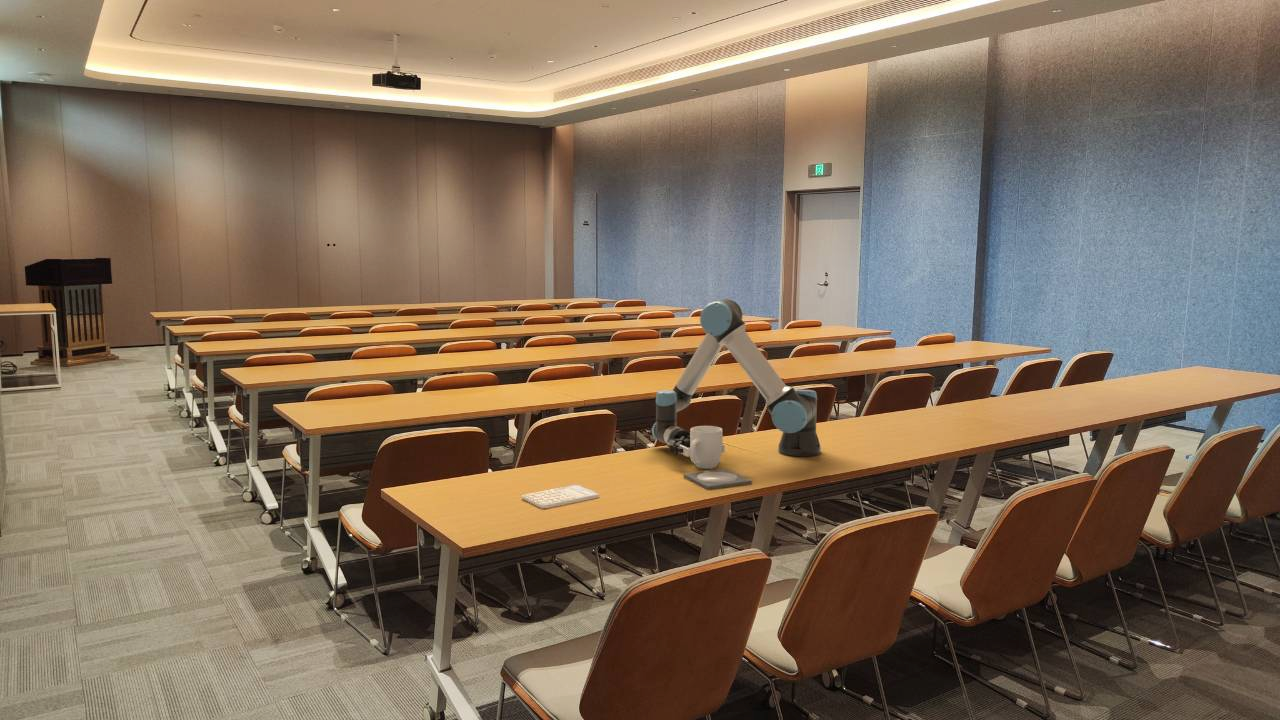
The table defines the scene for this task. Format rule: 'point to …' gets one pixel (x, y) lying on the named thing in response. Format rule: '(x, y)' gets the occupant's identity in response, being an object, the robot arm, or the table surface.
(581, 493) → the calculator
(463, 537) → the table surface
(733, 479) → the kitchen scale
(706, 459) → the mug
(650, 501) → the table surface
